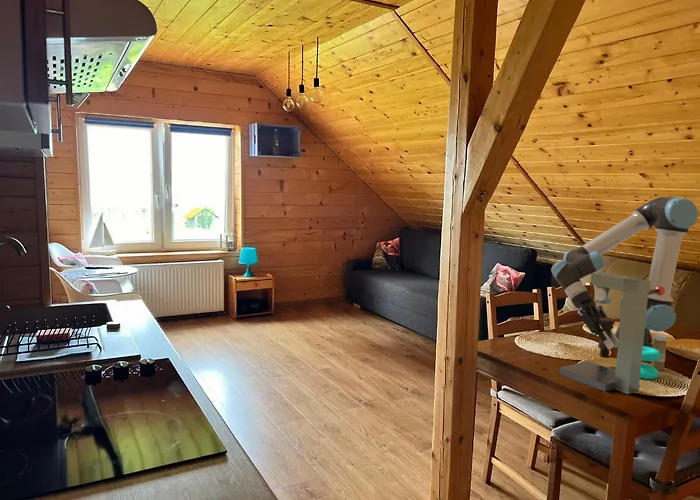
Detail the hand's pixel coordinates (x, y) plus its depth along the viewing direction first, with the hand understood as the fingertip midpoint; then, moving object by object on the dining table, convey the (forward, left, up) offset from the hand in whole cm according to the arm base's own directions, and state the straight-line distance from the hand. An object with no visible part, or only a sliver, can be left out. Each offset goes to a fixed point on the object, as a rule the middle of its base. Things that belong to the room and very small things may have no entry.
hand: (614, 347), depth 198 cm
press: (+6, +12, -8) cm, 16 cm away
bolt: (+2, -3, -5) cm, 7 cm away
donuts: (-8, +6, -9) cm, 13 cm away
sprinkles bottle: (-17, -2, -9) cm, 19 cm away
